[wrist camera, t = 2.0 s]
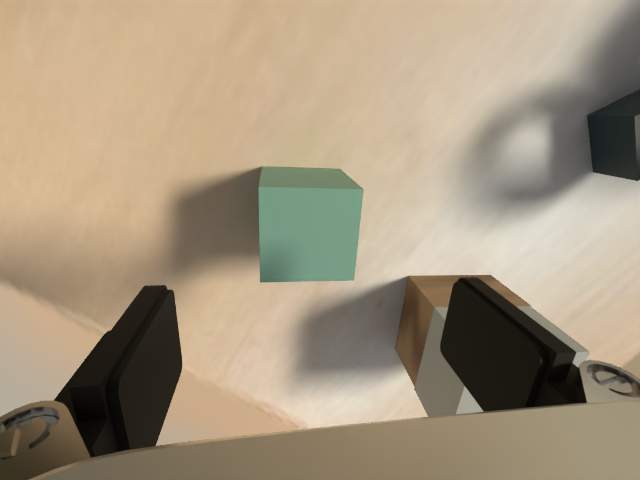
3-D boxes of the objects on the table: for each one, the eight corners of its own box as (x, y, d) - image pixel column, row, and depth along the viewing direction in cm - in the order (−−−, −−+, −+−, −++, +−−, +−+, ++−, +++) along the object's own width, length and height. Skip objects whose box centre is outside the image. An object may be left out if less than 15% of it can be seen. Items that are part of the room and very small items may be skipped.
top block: (434, 307, 21) (474, 355, 17) (530, 306, 22) (589, 351, 18) (414, 388, 23) (444, 448, 19) (500, 384, 24) (547, 440, 20)
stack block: (262, 166, 20) (258, 186, 15) (339, 168, 21) (363, 189, 15) (263, 239, 22) (260, 282, 17) (334, 239, 23) (353, 280, 17)
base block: (407, 274, 25) (434, 307, 21) (489, 274, 26) (530, 305, 22) (394, 347, 27) (415, 389, 23) (469, 344, 29) (502, 383, 24)
